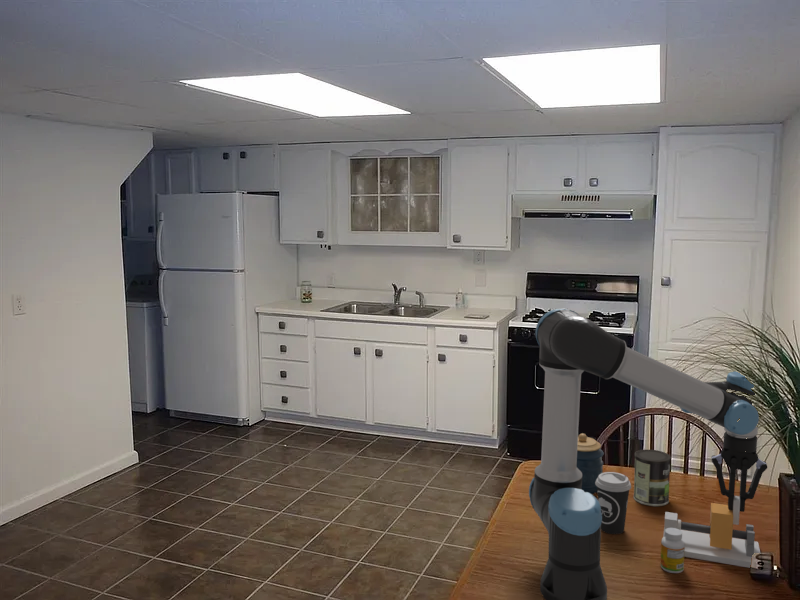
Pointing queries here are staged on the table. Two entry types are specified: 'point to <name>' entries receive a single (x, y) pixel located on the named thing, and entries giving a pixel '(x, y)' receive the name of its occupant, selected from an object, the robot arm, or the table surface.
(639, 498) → the coffee can
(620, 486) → the coffee cup
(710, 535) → the orange rectangular block
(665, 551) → the supplement bottle
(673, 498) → the table surface
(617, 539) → the table surface
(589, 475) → the canister
